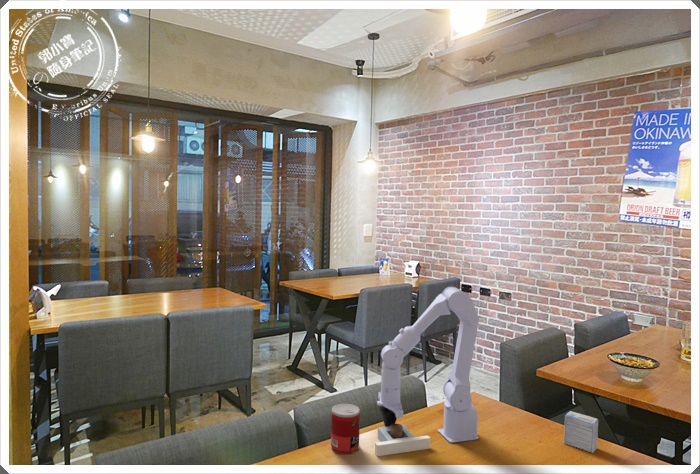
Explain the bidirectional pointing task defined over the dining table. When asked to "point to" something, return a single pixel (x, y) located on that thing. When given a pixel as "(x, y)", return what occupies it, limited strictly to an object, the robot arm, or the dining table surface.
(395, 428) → the dowel
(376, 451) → the bar
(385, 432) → the block
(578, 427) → the medicine box
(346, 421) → the canned food
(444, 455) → the dining table surface
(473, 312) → the robot arm
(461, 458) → the dining table surface
